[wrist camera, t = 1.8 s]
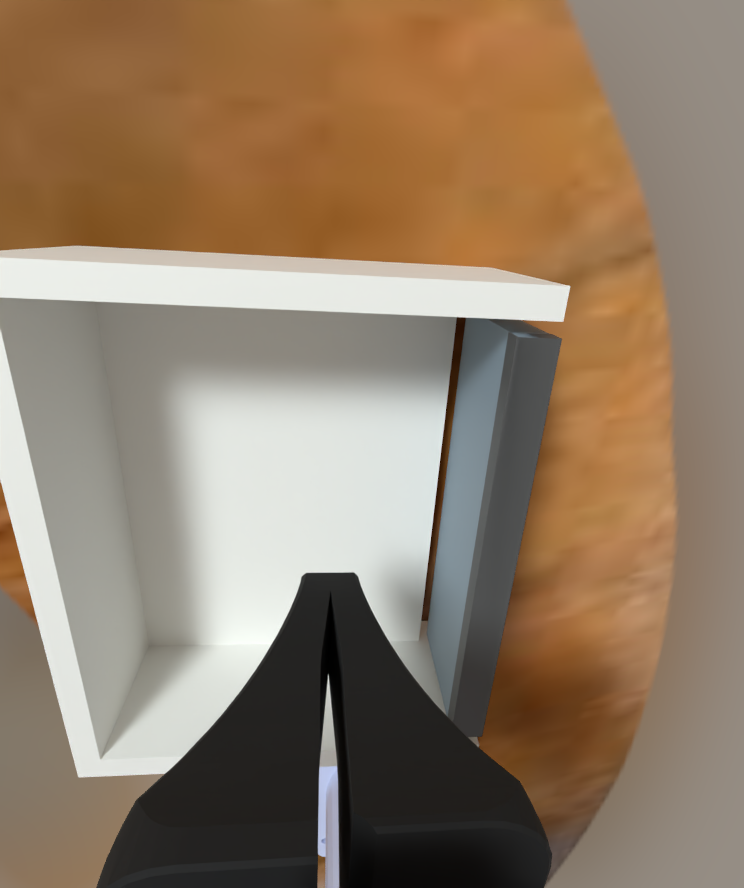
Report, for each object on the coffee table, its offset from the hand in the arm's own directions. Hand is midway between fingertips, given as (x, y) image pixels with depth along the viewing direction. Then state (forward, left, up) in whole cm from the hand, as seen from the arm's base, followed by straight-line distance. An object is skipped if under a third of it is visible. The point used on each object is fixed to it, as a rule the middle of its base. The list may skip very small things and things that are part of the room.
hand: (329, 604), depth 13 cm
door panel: (0, -5, -6) cm, 8 cm away
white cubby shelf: (0, +1, -7) cm, 7 cm away
